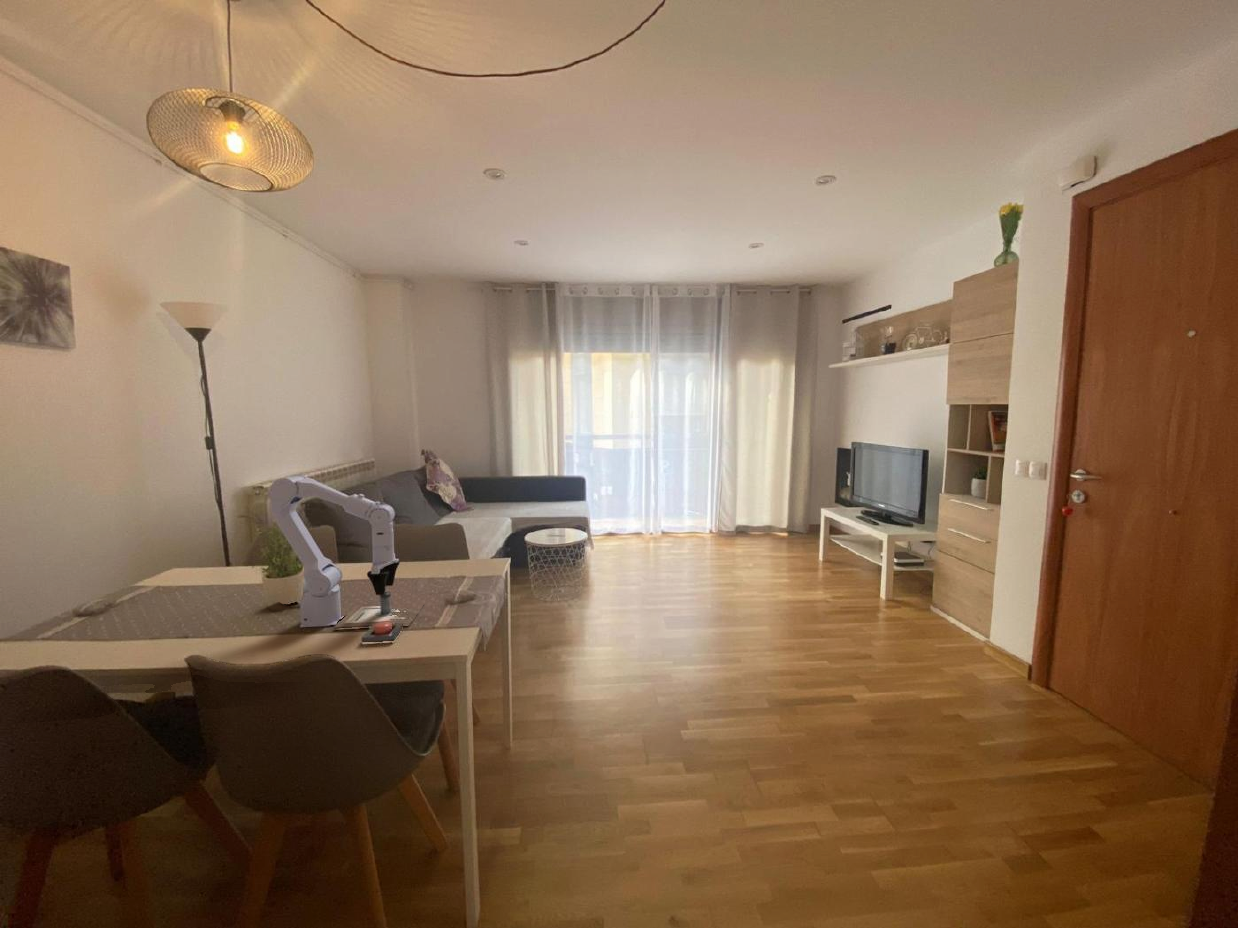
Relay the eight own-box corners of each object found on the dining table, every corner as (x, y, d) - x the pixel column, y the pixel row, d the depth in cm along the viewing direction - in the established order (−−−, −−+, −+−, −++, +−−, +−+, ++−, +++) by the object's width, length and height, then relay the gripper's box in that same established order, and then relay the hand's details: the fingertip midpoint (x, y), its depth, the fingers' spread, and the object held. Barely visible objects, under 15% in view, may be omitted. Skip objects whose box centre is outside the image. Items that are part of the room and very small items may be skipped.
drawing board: (334, 630, 129) (334, 626, 129) (357, 608, 145) (357, 604, 145) (409, 626, 132) (409, 622, 132) (424, 604, 148) (424, 601, 148)
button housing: (361, 644, 121) (361, 637, 121) (373, 631, 129) (373, 624, 128) (394, 643, 122) (393, 635, 122) (403, 629, 130) (403, 622, 130)
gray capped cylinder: (378, 615, 137) (378, 595, 136) (382, 611, 140) (381, 591, 139) (389, 614, 137) (388, 595, 136) (392, 610, 140) (392, 591, 139)
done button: (371, 635, 123) (371, 628, 122) (377, 628, 127) (377, 621, 127) (388, 634, 123) (388, 627, 123) (394, 627, 128) (394, 620, 127)
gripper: (389, 551, 130) (390, 598, 131) (404, 539, 144) (406, 581, 145) (362, 552, 129) (364, 599, 130) (381, 539, 143) (382, 582, 144)
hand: (384, 589), depth 138 cm, fingers open, 7 cm apart
